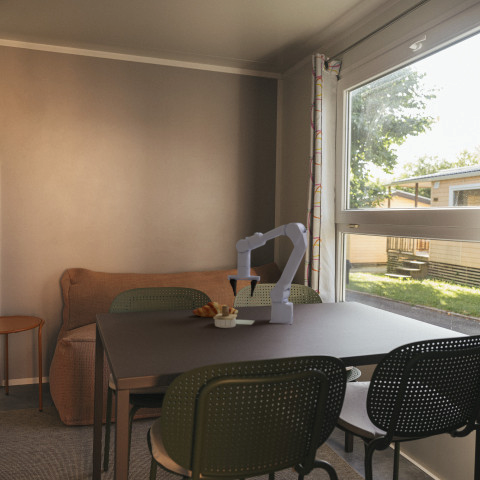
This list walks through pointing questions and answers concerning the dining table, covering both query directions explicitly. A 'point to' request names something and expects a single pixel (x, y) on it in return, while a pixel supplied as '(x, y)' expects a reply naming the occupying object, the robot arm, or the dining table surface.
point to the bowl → (225, 323)
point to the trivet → (245, 322)
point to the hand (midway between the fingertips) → (243, 296)
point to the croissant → (212, 310)
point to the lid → (225, 314)
